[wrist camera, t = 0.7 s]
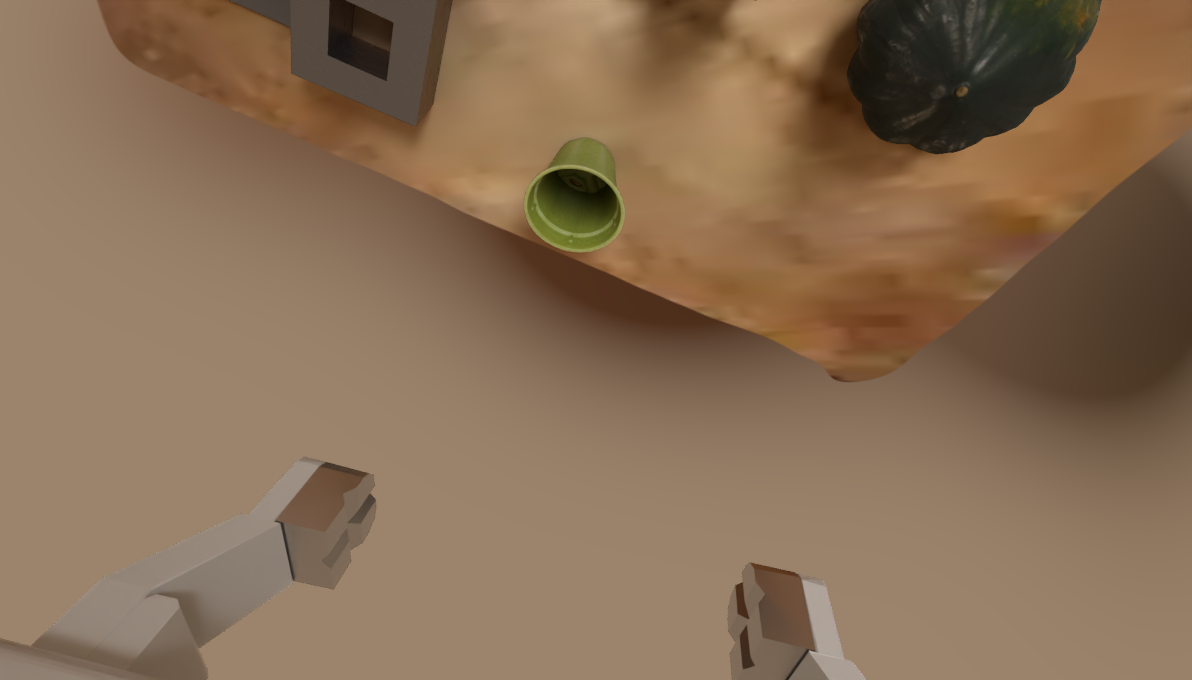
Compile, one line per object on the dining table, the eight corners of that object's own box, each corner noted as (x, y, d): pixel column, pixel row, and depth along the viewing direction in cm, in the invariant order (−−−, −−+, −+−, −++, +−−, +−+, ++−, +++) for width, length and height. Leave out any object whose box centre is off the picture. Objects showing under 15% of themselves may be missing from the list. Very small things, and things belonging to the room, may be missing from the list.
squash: (1140, 51, 38) (1175, 5, 27) (932, 189, 48) (896, 196, 37) (1014, -90, 41) (1000, -186, 30) (840, 69, 51) (781, 41, 39)
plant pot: (605, 218, 60) (597, 267, 54) (527, 181, 58) (510, 227, 52) (647, 149, 54) (643, 195, 48) (561, 103, 51) (546, 146, 45)
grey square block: (320, -83, 43) (289, -70, 39) (455, -17, 45) (437, 0, 41) (317, 53, 50) (291, 73, 47) (433, 103, 53) (415, 126, 49)
